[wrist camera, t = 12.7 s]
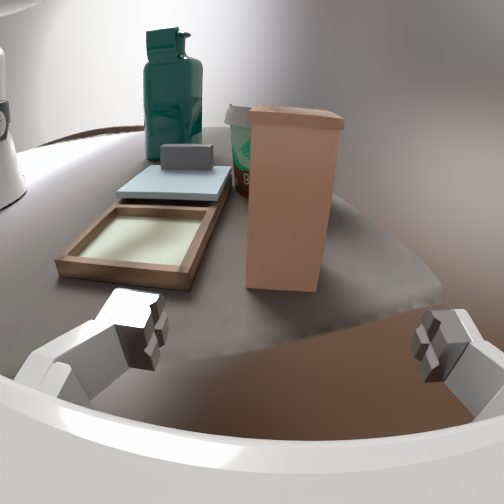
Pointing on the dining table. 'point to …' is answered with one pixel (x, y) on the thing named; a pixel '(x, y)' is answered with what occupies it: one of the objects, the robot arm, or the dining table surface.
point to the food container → (240, 146)
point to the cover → (180, 175)
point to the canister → (289, 195)
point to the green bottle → (171, 92)
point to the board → (144, 242)
